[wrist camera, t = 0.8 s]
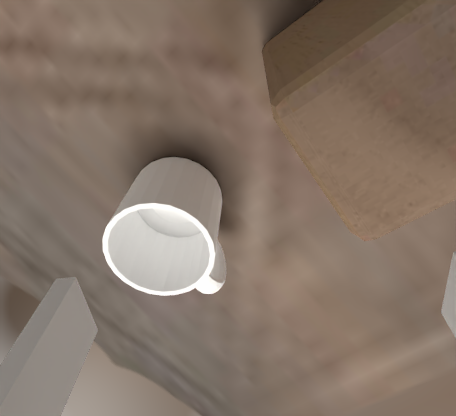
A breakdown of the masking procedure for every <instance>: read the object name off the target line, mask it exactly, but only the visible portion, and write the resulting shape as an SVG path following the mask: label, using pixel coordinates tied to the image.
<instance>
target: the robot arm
mask: <svg viewBox="0 0 456 416" xmlns="http://www.w3.org/2000/svg"><path fill="white" fill-rule="evenodd" d="M441 313H442V315H443V317H444V318H445V320H446V322H447V324H448V325H449V327H450V329H451V331H452V332H453V334H454V336H455V338H456V252H453V256H452V261H451V266H450V271H449V276H448V281H447V286H446V291H445V296H444V301H443V306H442V310H441ZM97 331H98V329H97V327H96V325H95V322H94V320H93V317H92V315H91V312H90V310H89V308H88V305H87V303H86V300H85V298H84V295H83V293H82V291H81V288H80V286H79V283H78V281H77V279H76V277H74V278H60V279H56V280H55V281H54V283H53V285H52V286H51V288H50V289H49V291H48V292H47V294H46V295H45V297H44V298H43V300H42V301H41V303H40V305H39V306H38V308H37V309H36V311H35V312H34V314H33V315H32V317H31V319H30V320H29V321H28V323H27V325H26V326H25V328H24V329H23V331H22V332H21V334H20V335H19V337H18V338H17V340H16V341H15V343H14V345H13V346H12V348H11V349H10V351H9V352H8V354H7V355H6V357H5V358H4V360H3V362H2V363H1V365H0V416H61V414H62V412H63V409H64V407H65V405H66V403H67V400H68V398H69V396H70V393H71V391H72V389H73V386H74V384H75V382H76V379H77V377H78V375H79V373H80V370H81V368H82V366H83V364H84V361H85V359H86V357H87V354H88V352H89V350H90V347H91V345H92V343H93V341H94V338H95V336H96V334H97Z"/></svg>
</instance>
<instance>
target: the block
mask: <svg viewBox="0 0 456 416" xmlns="http://www.w3.org/2000/svg"><path fill="white" fill-rule="evenodd" d="M262 54H263V60H264V66H265V72H266V78H267V84H268V90H269V95H270V101H271V107H272V112H273V118H274V120H275V121H276V123H277V124H278V126H279V127H280V129H281V130H282V132H283V133H284V135H285V136H286V137H287V139H288V140H289V142H290V143H291V145H292V146H293V148H294V149H295V151H296V152H297V154H298V155H299V157H300V158H301V160H302V161H303V163H304V164H305V166H306V167H307V168H308V170H309V171H310V173H311V174H312V176H313V177H314V179H315V180H316V182H317V183H318V185H319V186H320V188H321V189H322V191H323V192H324V194H325V195H326V197H327V198H328V199H329V201H330V202H331V204H332V205H333V207H334V208H335V210H336V211H337V213H338V214H339V216H340V217H341V219H342V220H343V222H344V223H345V225H346V226H347V228H348V229H349V230H350V232H351V233H353V234H355V235H357V236H358V237H360V238H361V239H362V240H364V241H369V240H375V239H378V238H380V237H382V236H384V235H386V234H388V233H390V232H392V231H394V230H396V229H398V228H400V227H402V226H404V225H406V224H408V223H410V222H412V221H414V220H416V219H418V218H420V217H422V216H424V215H426V214H428V213H430V212H432V211H434V210H436V209H438V208H440V207H442V206H444V205H446V204H448V203H450V202H452V201H454V200H456V0H323V1H322V2H320V3H319V4H318V5H316V6H315V7H314V8H312V9H311V10H310V11H308V12H307V13H306V14H304V15H303V16H302V17H300V18H299V19H298V20H296V21H295V22H294V23H292V24H291V25H290V26H288V27H287V28H286V29H284V30H283V31H282V32H280V33H279V34H278V35H277V36H275V37H274V38H273V39H271V40H270V41H269V42H267V43H266V45H265V47H264V48H263V50H262Z"/></svg>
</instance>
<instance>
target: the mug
mask: <svg viewBox="0 0 456 416" xmlns="http://www.w3.org/2000/svg"><path fill="white" fill-rule="evenodd" d="M222 201H223V200H222V193H221V189H220V187H219V185H218V182H217V180H216V179H215V178H214V176H213V175H212V174H211V173H210V172H209V171H208V170H207V169H206V168H204V167H203V166H202V165H200V164H199V163H196V162H194V161H191V160H189V159H186V158H179V157H168V158H161V159H159V160H156V161H153V162H151V163H150V164H148V165H147V166H146V167H144V168H143V169H142V170H141V172H140V173H139V174H138V176H137V177H136V179H135V180H134V182H133V184H132V185H131V187H130V189H129V190H128V192H127V194H126V195H125V197H124V199H123V200H122V202H121V203H120V205H119V207H118V208H117V210H116V212H115V213H114V215H113V217H112V218H111V220H110V222H109V223H108V225H107V227H106V229H105V233H104V236H103V252H104V255H105V258H106V261H107V263H108V264H109V266H110V267H111V269H112V270H113V272H114V273H115V274H116V275H117V276H118V277H119V278H120V279H121V280H123V281H124V282H125V283H127V284H128V285H130V286H132V287H133V288H135V289H137V290H140V291H143V292H146V293H149V294H156V295H163V296H164V295H177V294H181V293H184V292H188V291H190V290H192V289H194V288H196V289H197V290H199V291H200V292H202V293H204V294H213V293H215V292H217V291H218V290H219V289H220V288H221V287H222V285H223V284H224V282H225V278H226V261H225V256H224V252H223V249H222V247H221V244H220V243H219V241H218V240H217V238H218V231H219V223H220V216H221V209H222ZM210 272H211V275H210Z"/></svg>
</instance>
